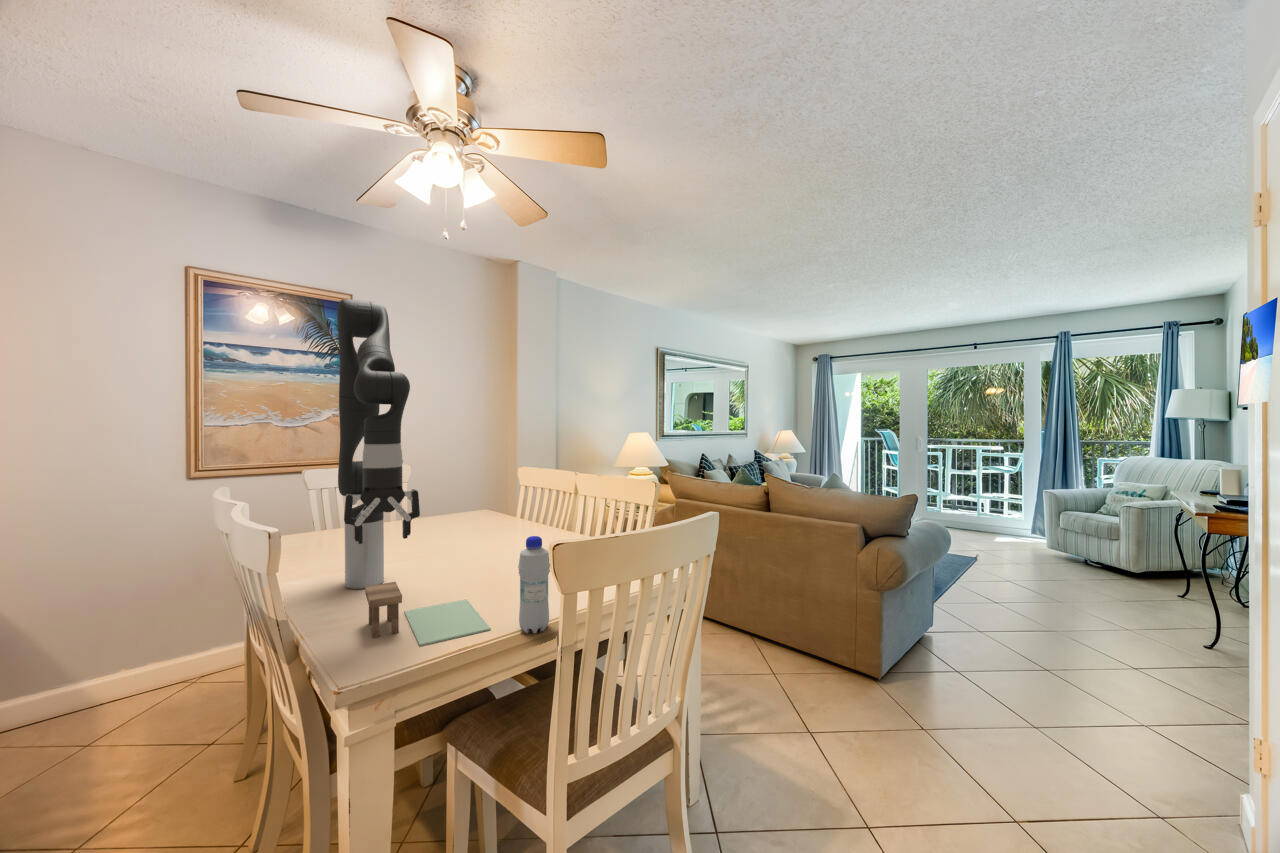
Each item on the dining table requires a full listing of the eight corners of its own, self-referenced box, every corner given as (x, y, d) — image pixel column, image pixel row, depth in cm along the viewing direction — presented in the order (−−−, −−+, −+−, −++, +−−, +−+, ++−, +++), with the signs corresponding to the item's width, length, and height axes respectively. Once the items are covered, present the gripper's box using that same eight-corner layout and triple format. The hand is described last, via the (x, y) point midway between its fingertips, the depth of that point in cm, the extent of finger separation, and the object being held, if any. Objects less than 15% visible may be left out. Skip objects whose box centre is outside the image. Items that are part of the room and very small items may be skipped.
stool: (365, 622, 109) (365, 586, 109) (395, 616, 112) (395, 581, 112) (369, 639, 101) (369, 600, 101) (402, 633, 104) (402, 595, 104)
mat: (404, 612, 115) (404, 611, 115) (466, 600, 122) (466, 599, 122) (419, 646, 98) (419, 644, 98) (490, 630, 106) (490, 628, 106)
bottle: (518, 637, 102) (518, 541, 102) (517, 624, 109) (517, 533, 108) (551, 634, 104) (551, 539, 104) (548, 621, 110) (548, 531, 110)
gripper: (415, 462, 113) (416, 533, 113) (343, 465, 105) (343, 541, 105) (421, 464, 107) (422, 539, 107) (344, 468, 99) (345, 549, 99)
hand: (383, 540), depth 106 cm, fingers open, 8 cm apart
